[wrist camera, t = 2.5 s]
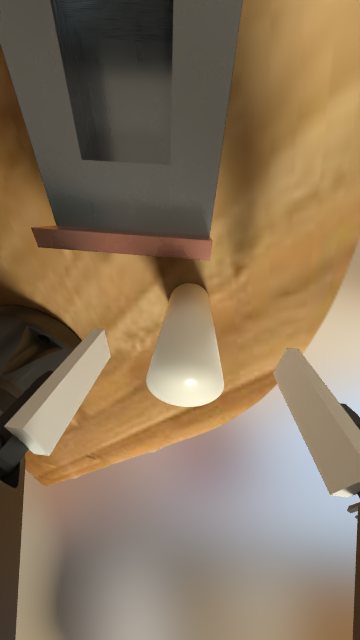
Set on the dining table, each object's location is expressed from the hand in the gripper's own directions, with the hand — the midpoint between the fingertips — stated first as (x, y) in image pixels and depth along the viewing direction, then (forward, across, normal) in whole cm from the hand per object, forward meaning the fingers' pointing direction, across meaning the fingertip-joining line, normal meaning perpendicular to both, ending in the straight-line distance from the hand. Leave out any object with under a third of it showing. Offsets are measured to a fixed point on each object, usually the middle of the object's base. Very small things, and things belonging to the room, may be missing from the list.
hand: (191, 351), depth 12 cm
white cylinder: (+8, 0, 0) cm, 8 cm away
